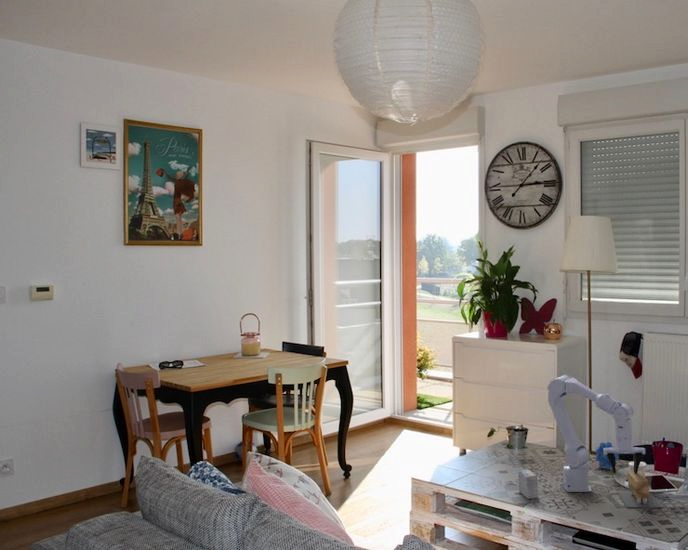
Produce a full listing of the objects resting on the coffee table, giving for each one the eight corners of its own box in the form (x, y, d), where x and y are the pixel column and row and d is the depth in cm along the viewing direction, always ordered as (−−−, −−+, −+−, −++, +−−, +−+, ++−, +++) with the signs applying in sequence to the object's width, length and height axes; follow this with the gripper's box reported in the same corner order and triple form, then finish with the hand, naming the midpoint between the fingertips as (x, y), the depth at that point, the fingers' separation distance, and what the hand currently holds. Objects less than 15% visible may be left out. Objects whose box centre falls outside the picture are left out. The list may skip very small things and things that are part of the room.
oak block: (636, 498, 265) (635, 481, 264) (628, 486, 276) (627, 471, 276) (649, 498, 264) (648, 481, 264) (640, 486, 276) (640, 471, 276)
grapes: (625, 470, 304) (624, 442, 304) (615, 474, 301) (613, 445, 300) (603, 464, 314) (601, 436, 314) (592, 467, 311) (591, 439, 310)
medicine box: (538, 498, 279) (537, 475, 278) (527, 499, 278) (526, 476, 277) (529, 491, 286) (528, 469, 286) (519, 492, 286) (518, 470, 285)
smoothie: (648, 491, 279) (647, 454, 279) (631, 491, 280) (629, 454, 280) (645, 485, 285) (644, 450, 285) (628, 485, 287) (626, 450, 286)
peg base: (627, 508, 263) (626, 500, 263) (617, 492, 279) (616, 485, 279) (662, 508, 262) (661, 499, 262) (650, 492, 277) (649, 484, 277)
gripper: (605, 440, 270) (606, 476, 271) (647, 439, 268) (648, 476, 269) (601, 434, 277) (602, 470, 278) (642, 434, 275) (643, 470, 276)
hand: (624, 472), depth 274 cm, fingers open, 7 cm apart
